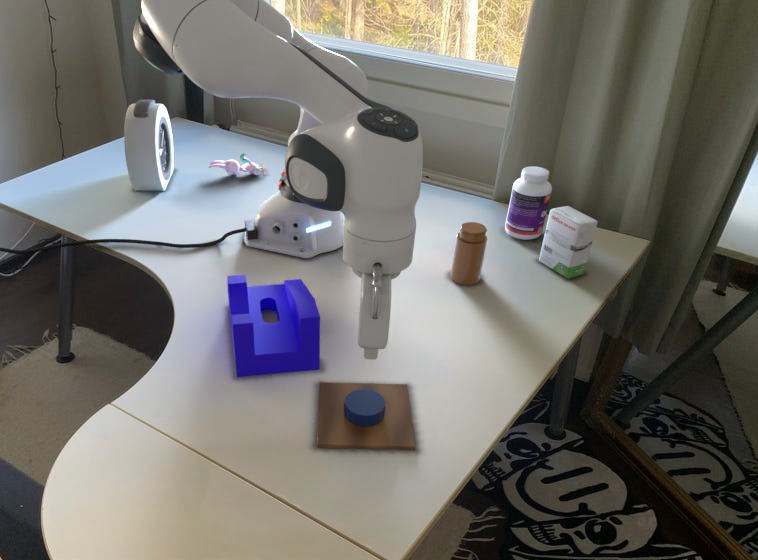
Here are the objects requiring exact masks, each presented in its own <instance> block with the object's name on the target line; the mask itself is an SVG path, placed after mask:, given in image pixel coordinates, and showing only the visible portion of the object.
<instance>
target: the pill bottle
mask: <svg viewBox="0 0 758 560" xmlns="http://www.w3.org/2000/svg"><path fill="white" fill-rule="evenodd" d="M549 176H550V171H549V170H548V169H547V168H544V167H540V166H526V167H524V168H522V170H521V173H520V177H519V178H517V179H516V180H515V181H514V182H513V185H512V189H511V195H510V199H509V204H508V208H507V209H508V210H507V214H506V219H505V225H504V230H505V233H506V234H507V235H509V236H510V237H512V238H514V239H518V240H524V241H525V240H534V239H537V238H539V237H540V236H541V235H542V233H543V230H544V225H545V221H546V216H547V212H548V208H549V205H550V201H551V195H552V191H553V186H552V183H550V182H549V181H548V180H549Z"/></svg>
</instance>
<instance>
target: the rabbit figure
mask: <svg viewBox="0 0 758 560" xmlns="http://www.w3.org/2000/svg"><path fill="white" fill-rule="evenodd" d="M245 156H247V154H246V153H241V154H240V155H239V159H240V161H241V162H243V164H242V166H241V164H240V163H239V161H238V160H236V159H228V160H227V159H226V160H221V159H217V160H216V159H215V160H213V161H211V162H210V163H208V165H207V166H208V168H209V169H210V168H220V169H222V170H225V172H226V173H227V174H231V175H232V176H237V175H239V174H240V171H242V172H243V173H245V174H252V175H254V176H258V175H260V174H261V171H263V173H264V175H266V174H267V167H266V164H264V165H263V164H262V163H259V164H257V163H256V162H252V161H251V160H250V159H249V158H248V157H245Z"/></svg>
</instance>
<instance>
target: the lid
mask: <svg viewBox="0 0 758 560" xmlns="http://www.w3.org/2000/svg"><path fill="white" fill-rule="evenodd" d="M344 414H345V417H346V419H347V420H348V421H349V422H351V423H352V424H354V425H357V426H361V427H370V426H374V425H376V424H378V423H380V422H381V421H382V419H383V418H384V414H385V400H384V398H383V397H382V395H380V394H379V393H378V392H376V391H373V390H369V389H358V390H354V391H352V392H350V393H349V394H348V395H347V396H346V398H345V403H344Z"/></svg>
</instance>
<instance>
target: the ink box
mask: <svg viewBox="0 0 758 560" xmlns="http://www.w3.org/2000/svg"><path fill="white" fill-rule="evenodd" d="M598 223H599V221H598V220H596V219H595V218H593V217H591V216H589V215H587V214H585V213H584V212H581V211H579V210H577V209H575V208H573V207H571V206H569V205H564V206H560V207H554V208H551V209H550V210H549V213H548V217H547V223H546V226H545V232H544V235H543V240H542V245H541V249H540V253H539V258H538V262H540V263H541V264H543V265H545V266H546V267H548V268H550V269H551V270H552V271H554V272H556V273H557V274H559V275H560V276H563V277H564V278H566V279H567V280H569V279H572V278H575V277H578V276H581V275H584V274H585V272H586V271H585V270H586V267H587V263H588V259H589V256H590V252H591V248H592V245H593V241H594V238H595V235H596V230H597V226H598Z"/></svg>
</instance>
